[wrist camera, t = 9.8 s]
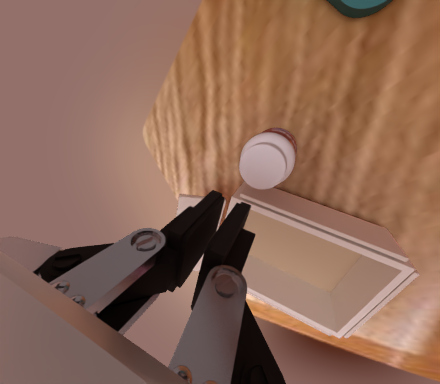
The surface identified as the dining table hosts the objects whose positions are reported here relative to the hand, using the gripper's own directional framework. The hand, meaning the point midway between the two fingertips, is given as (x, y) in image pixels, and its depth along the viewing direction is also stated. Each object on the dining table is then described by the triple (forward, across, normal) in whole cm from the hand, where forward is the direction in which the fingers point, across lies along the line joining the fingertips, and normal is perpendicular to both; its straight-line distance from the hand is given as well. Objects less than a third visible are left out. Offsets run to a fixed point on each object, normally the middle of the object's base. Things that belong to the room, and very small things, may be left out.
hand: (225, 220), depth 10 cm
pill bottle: (+21, 0, 0) cm, 21 cm away
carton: (+21, -8, +14) cm, 26 cm away
